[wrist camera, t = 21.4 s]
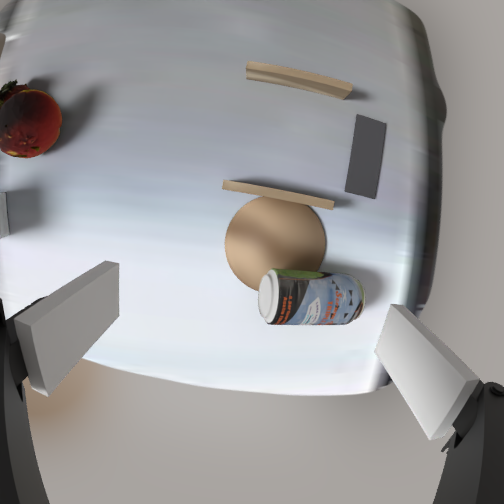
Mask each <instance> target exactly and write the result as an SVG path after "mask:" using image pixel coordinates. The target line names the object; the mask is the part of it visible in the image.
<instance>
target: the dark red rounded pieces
mask: <svg viewBox="0 0 504 504" xmlns="http://www.w3.org/2000/svg"><path fill="white" fill-rule="evenodd" d="M16 84H17V79H16V80H15V81H13V82H11V81H10V82H9V83H8V84H5V85H3V87H2V88H1V90H0V149H1V151H2V152H4V153H6V154H8V155H10V156H13V157H19V158H31V157H35V156H38V155H40V154H42V153H43V152H45V151H46V150H48V149H49V148H50V147H51V146H52V145H53V144H54V143H55V142H56V140H57V139H58V136H59V134H60V129H59V128H60V127H61V125H62V115H61V111H60V108H59V106H58V104H57V103H56V102H55V100H54V99H53V98H52V97H51V96H49V95H48V94H47V93H45V92H43V91H39V90H31V89H30V88H28V87H27V84H25V85H16Z"/></svg>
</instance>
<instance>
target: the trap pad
mask: <svg viewBox="0 0 504 504" xmlns="http://www.w3.org/2000/svg"><path fill="white" fill-rule="evenodd" d="M385 127H386V123H383V122H380V121H377V120H374V119H371V118H368V117H365V116H362V115H358V114H357V116H356V123H355V130H354V137H353V144H352V151H351V157H350V163H349V169H348V175H347V180H346V186H345V192H349V193H353V194H357V195H361V196H365V197H368V198H372V199H375V194H376V188H377V183H378V177H379V171H380V164H381V157H382V150H383V143H384V135H385Z"/></svg>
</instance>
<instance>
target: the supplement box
mask: <svg viewBox="0 0 504 504" xmlns="http://www.w3.org/2000/svg"><path fill="white" fill-rule="evenodd" d="M8 235H10V233H9V226H8V217H7V205H6V193H5V192H3V193H0V238H2V237H5V236H8Z"/></svg>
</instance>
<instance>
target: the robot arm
mask: <svg viewBox="0 0 504 504" xmlns="http://www.w3.org/2000/svg"><path fill="white" fill-rule="evenodd" d="M118 317H119V263H115V262H110V261H104V262H102V263H101V264H99V265H97V266H96V267H94V268H92V269H90V270H89V271H87V272H85V273H84V274H82V275H81V276H79V277H77V278H76V279H74V280H72V281H71V282H69V283H68V284H66V285H64V286H63V287H61V288H60V289H58V290H56V291H55V292H53V293H52V294H50V295H49V296H46V297H43V298H40V299H38V300H36V301H34V302H33V303H31V305H28V306H27V307H25V308H24V309H22V310H21V311H19V312H18V313H16V314H15V315H13V316H12V317H10V318H9V319H7V320H5V315H4V309H3V304H2V299H1V298H0V504H50V503H49V500H48V498H47V495H46V492H45V488H44V485H43V482H42V478H41V475H40V471H39V467H38V464H37V460H36V456H35V451H34V446H33V442H32V437H31V431H30V425H29V419H28V412H27V405H26V397H25V389H24V386H23V383H22V381H23V380H24V379H25V378H26V377H27V376H28V378H29V381H30V384H31V387H32V389H34V390H35V391H37V392H39V393H41V394H44V395H46V396H48V397H49V396H50V394H51V393H52V392H53V391H54V389H55V388H56V387H57V386H58V385H59V383H60V382H61V381H62V380H63V379H64V378H65V376H66V375H67V374H68V373H69V372H70V371H71V369H72V368H73V367H74V366H75V365H76V364H77V362H78V361H79V360H80V359H81V358H82V357H83V356H84V354H85V353H86V352H87V351H88V350H89V349H90V348H91V347H92V345H93V344H94V343H95V342H96V341H97V340H98V339H99V338H100V336H101V335H102V334H103V333H104V332H105V331H106V330H107V329H108V328H109V327H110V325H111V324H112V323H113V322H114V321H115V320H116V319H117V318H118ZM374 352H375V354H376V355H377V357H378V358H379V360H380V361H381V363H382V364H383V366H384V367H385V369H386V370H387V372H388V374H389V375H390V377H391V378H392V380H393V381H394V383H395V385H396V386H397V388H398V389H399V391H400V392H401V394H402V396H403V397H404V399H405V401H406V402H407V404H408V405H409V407H410V409H411V410H412V412H413V413H414V415H415V417H416V418H417V420H418V422H419V423H420V425H421V427H422V428H423V430H424V432H425V433H426V435H427V437H428V439H429V440H432V439H436V438H441V437H444V436H445V434H446V433H447V432H448V430H449V429H450V427H451V426H452V425H453V427H454V428H455V430H456V431H455V432H454V434H453V435H452V436H451V438H450V439H449V441H448V442H447V443H446V444H445V446H444V447H443V448H442V450H441V452H444V450H445V449H446V448H448V447H449V449H448V451H447V457H446V461H445V466H444V469H443V473H442V476H441V480H440V483H439V486H438V489H437V493H436V496H435V499H434V502H433V504H504V387H503V386H502V385H500V384H497V383H494V382H488V383H486V384H483V382H482V381H481V380H480V378H478V376H477V375H476V374H475V373H474V372H473V371H472V370H471V369H470V368H469V367H468V366H467V365H466V364H465V363H464V362H463V361H462V360H461V359H460V358H459V357H458V356H457V355H456V354H455V353H454V352H453V351H452V350H451V349H450V348H448V347H447V346H446V345H445V344H444V343H443V342H442V341H441V340H440V339H439V338H438V337H437V336H436V335H435V334H434V333H433V332H432V331H431V330H430V329H429V328H427V327H426V326H425V325H424V324H423V323H422V322H421V321H420V320H419V319H418V318H417V317H416V316H414V315H413V314H412V313H411V312H410V311H409V310H408V309H407V308H406V307H405V306H403V305H397V304H391V305H390V308H389V311H388V314H387V317H386V320H385V323H384V326H383V329H382V332H381V334H380V337H379V340H378V343H377V345H376V348H375V351H374Z"/></svg>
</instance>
